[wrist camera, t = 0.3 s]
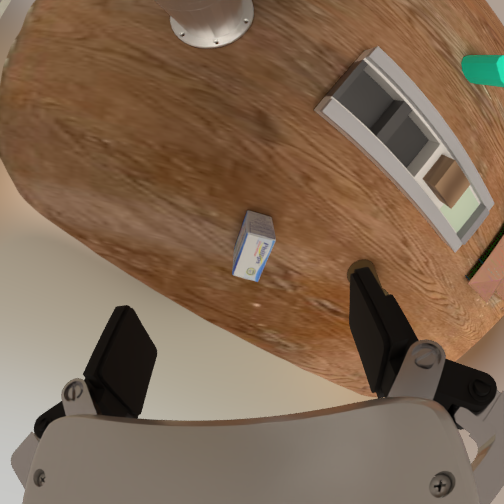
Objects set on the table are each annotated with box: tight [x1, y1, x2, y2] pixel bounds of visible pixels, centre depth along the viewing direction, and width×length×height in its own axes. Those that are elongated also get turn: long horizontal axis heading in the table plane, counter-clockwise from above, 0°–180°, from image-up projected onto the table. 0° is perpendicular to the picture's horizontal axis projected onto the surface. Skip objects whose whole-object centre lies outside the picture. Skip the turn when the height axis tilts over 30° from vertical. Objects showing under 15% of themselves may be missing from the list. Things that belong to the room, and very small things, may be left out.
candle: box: [461, 55, 504, 87], centre depth 26 cm, size 6×6×12 cm
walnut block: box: [423, 155, 470, 209], centre depth 38 cm, size 6×6×4 cm
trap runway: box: [314, 46, 494, 252], centre depth 39 cm, size 38×14×6 cm, turn 54°
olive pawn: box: [347, 260, 389, 295], centre depth 49 cm, size 6×6×11 cm
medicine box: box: [232, 210, 276, 282], centre depth 46 cm, size 8×4×9 cm, turn 162°
